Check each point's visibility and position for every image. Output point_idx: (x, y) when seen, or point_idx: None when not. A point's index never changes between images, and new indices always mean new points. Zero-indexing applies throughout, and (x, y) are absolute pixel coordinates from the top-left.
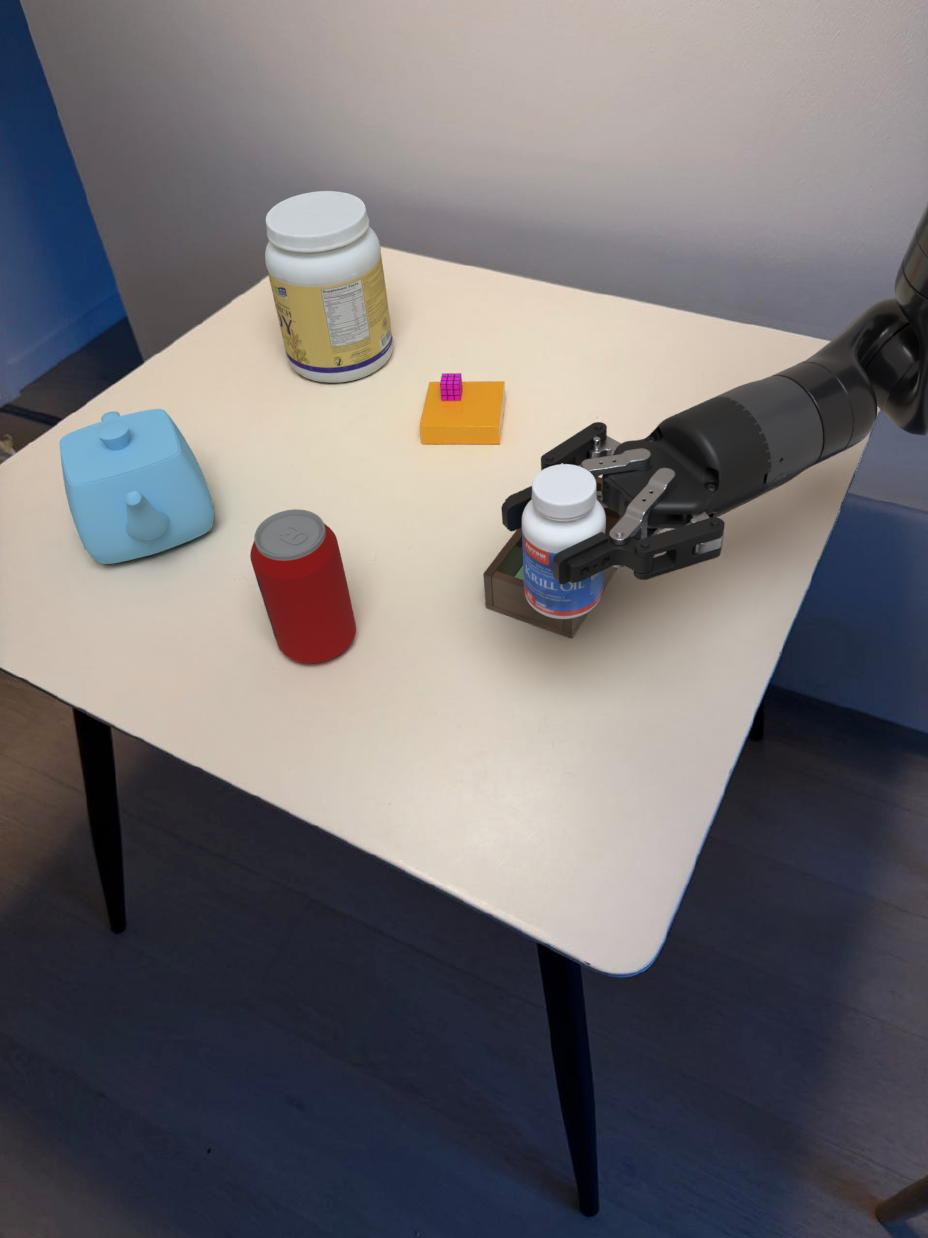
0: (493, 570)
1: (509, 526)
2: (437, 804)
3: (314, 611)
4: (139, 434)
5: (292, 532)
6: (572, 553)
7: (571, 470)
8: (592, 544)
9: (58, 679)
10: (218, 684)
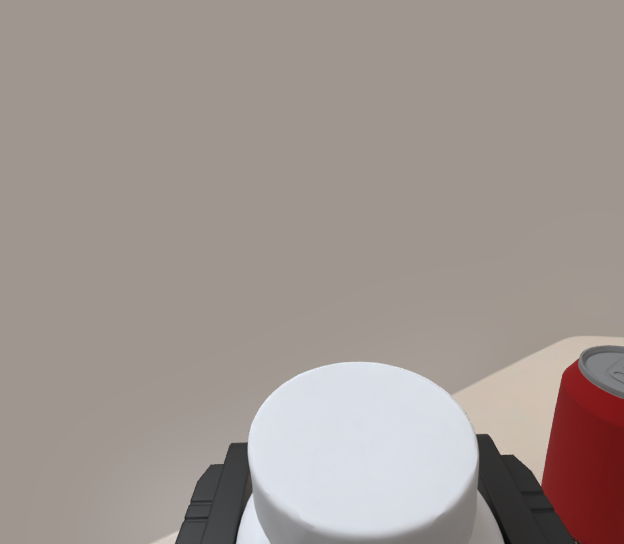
0: None
1: None
2: None
3: (555, 438)
4: None
5: None
6: (226, 466)
7: (419, 477)
8: (206, 524)
9: (552, 350)
10: (530, 422)
